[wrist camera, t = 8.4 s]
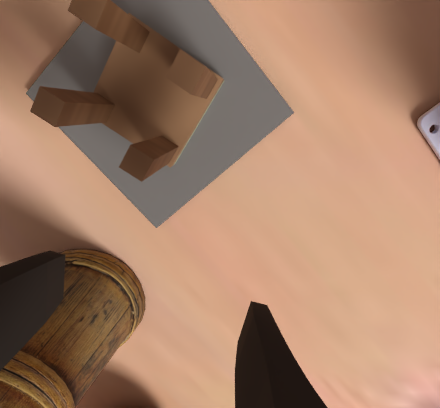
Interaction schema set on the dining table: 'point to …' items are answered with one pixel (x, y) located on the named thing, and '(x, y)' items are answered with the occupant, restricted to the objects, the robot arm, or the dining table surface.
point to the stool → (136, 91)
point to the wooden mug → (75, 334)
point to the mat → (209, 125)
